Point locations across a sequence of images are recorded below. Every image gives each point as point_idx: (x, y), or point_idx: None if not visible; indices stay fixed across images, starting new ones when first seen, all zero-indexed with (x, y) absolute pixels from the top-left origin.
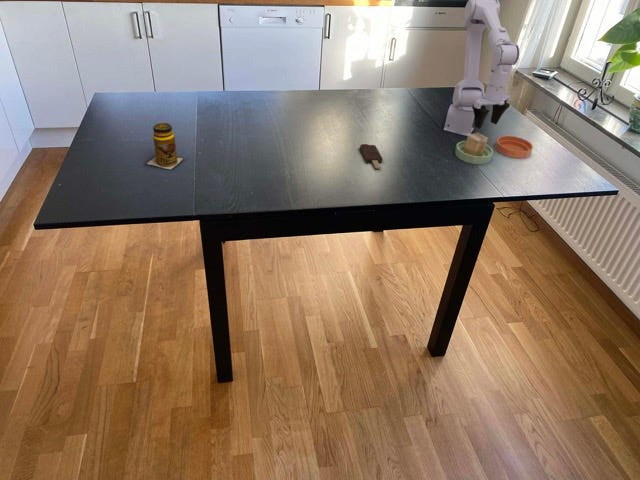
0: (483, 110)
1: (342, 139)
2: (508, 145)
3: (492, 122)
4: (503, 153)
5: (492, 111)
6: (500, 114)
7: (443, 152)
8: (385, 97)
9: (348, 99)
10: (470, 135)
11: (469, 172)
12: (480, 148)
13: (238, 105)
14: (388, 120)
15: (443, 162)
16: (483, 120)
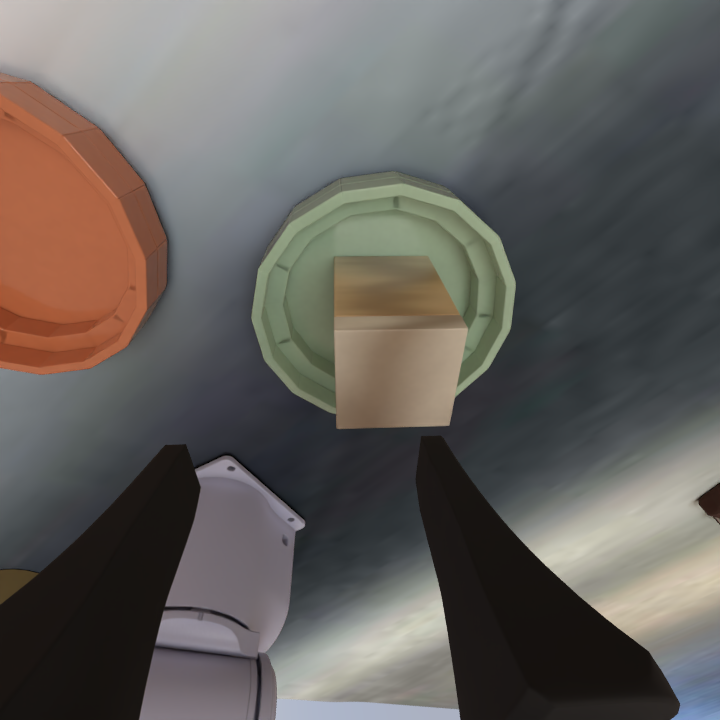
0: (649, 717)
1: (696, 564)
2: (21, 297)
3: (194, 476)
4: (151, 213)
5: (161, 612)
6: (112, 554)
7: (485, 391)
8: (322, 676)
9: (436, 681)
10: (440, 414)
11: (592, 137)
12: (393, 288)
13: (688, 693)
14: (442, 604)
15: (590, 316)
16: (465, 513)
